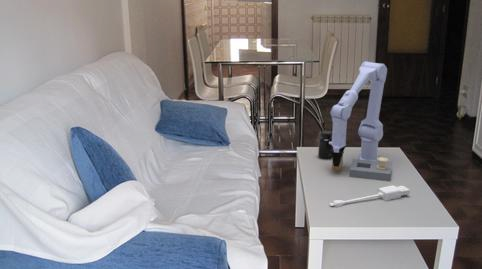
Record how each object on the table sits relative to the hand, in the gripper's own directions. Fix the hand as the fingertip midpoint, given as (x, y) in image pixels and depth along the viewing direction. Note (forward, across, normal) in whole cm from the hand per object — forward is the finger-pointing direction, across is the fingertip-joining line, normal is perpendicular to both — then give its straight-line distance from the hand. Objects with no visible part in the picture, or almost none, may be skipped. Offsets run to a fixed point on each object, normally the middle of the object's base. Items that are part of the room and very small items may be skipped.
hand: (337, 163), depth 210 cm
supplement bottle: (+3, -14, -7) cm, 16 cm away
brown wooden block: (+3, 0, 0) cm, 3 cm away
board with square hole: (+3, 0, +14) cm, 14 cm away
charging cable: (+3, +28, +16) cm, 32 cm away
